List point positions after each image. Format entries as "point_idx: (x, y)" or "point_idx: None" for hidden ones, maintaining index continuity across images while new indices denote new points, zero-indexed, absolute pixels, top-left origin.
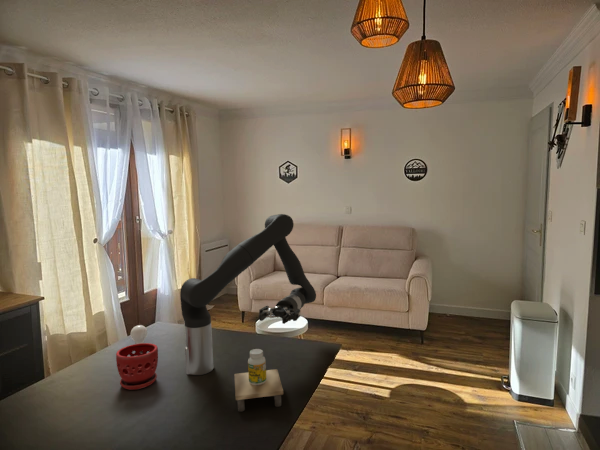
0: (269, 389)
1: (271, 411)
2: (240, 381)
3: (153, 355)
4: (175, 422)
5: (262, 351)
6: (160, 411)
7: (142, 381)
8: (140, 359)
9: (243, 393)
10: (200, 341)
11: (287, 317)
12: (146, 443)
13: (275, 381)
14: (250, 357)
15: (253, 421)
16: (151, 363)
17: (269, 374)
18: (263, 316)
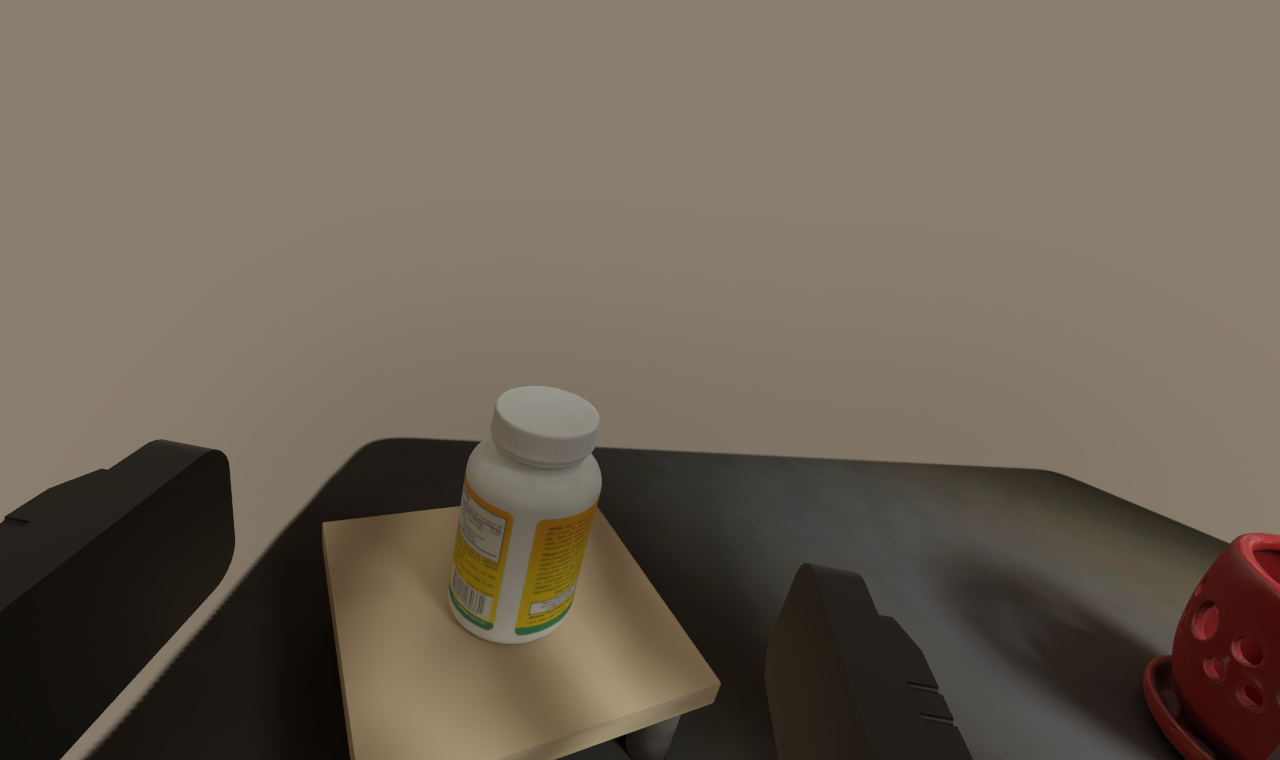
0: (414, 530)
1: None
2: (626, 598)
3: (1262, 612)
4: (768, 518)
5: (497, 404)
6: (878, 566)
7: (1173, 680)
8: (1222, 556)
9: None
10: (1278, 750)
11: (8, 526)
12: (766, 457)
13: (376, 604)
14: (587, 459)
15: None
16: (1220, 631)
17: (435, 696)
18: (809, 708)
